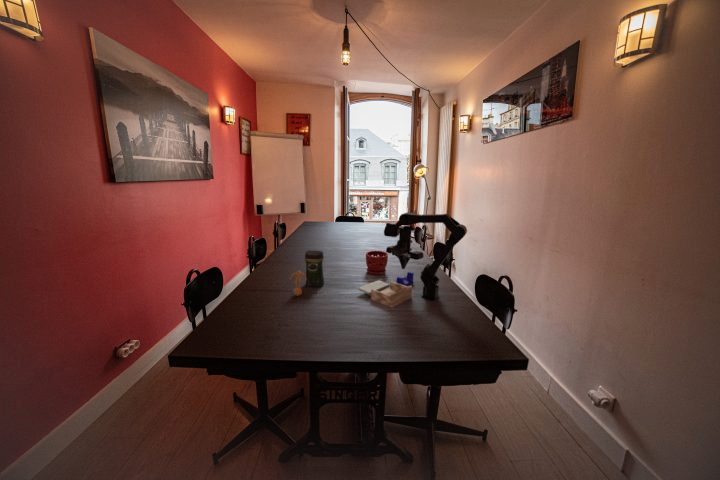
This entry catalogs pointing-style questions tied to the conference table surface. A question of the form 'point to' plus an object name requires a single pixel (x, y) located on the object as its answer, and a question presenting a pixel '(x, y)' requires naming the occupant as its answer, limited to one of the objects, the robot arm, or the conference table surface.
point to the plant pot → (376, 262)
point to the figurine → (298, 290)
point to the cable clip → (406, 279)
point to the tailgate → (374, 287)
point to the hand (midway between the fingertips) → (403, 268)
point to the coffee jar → (314, 268)
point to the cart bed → (392, 294)
